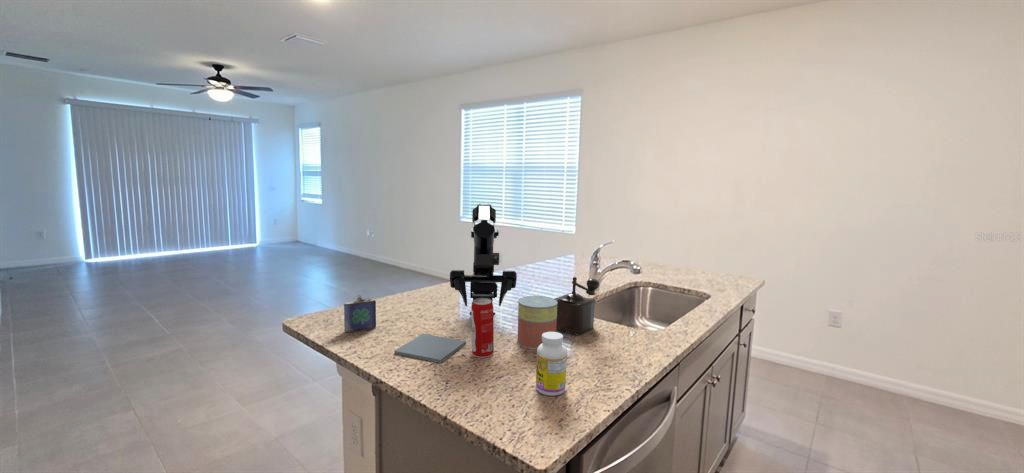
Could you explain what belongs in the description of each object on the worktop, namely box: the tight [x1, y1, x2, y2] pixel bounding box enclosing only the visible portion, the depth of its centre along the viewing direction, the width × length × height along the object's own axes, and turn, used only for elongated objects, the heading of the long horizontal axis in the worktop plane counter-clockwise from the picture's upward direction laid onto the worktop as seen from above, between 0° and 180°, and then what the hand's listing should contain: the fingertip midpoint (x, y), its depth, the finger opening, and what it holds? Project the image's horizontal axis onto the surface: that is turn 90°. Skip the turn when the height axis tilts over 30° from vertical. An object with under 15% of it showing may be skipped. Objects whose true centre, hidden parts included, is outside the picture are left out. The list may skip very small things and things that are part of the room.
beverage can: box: [470, 298, 495, 359], centre depth 118 cm, size 6×6×15 cm
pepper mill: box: [554, 276, 600, 336], centre depth 138 cm, size 16×11×18 cm
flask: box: [343, 294, 377, 334], centre depth 134 cm, size 9×3×11 cm, turn 121°
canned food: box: [516, 295, 558, 350], centre depth 128 cm, size 11×11×12 cm
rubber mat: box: [394, 333, 467, 364], centre depth 122 cm, size 14×14×1 cm
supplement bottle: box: [535, 331, 568, 397], centre depth 99 cm, size 7×7×13 cm
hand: (483, 305), depth 122 cm, fingers open, 9 cm apart
